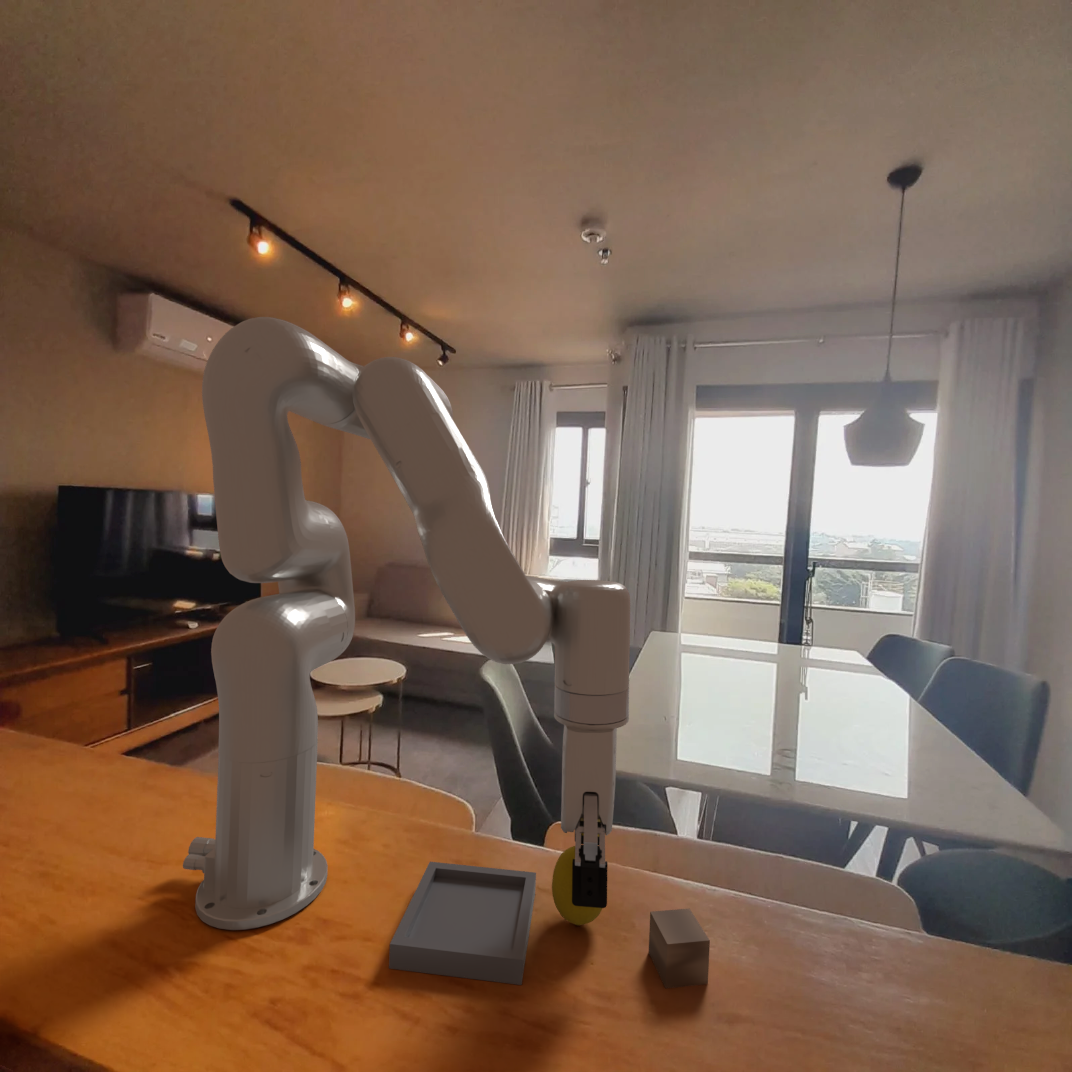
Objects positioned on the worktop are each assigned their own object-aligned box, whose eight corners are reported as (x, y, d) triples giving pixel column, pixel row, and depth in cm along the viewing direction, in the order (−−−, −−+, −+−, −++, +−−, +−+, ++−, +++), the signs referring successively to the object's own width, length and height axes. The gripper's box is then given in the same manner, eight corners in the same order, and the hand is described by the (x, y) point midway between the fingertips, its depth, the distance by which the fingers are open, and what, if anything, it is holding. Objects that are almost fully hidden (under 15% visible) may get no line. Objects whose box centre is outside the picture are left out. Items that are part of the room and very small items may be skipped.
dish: (388, 968, 47) (389, 943, 47) (429, 881, 59) (429, 861, 59) (521, 984, 46) (522, 960, 46) (535, 892, 58) (536, 872, 58)
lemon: (600, 905, 56) (603, 831, 56) (609, 945, 51) (612, 863, 51) (548, 904, 56) (551, 829, 56) (552, 945, 51) (555, 862, 51)
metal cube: (665, 989, 46) (667, 944, 46) (648, 953, 50) (650, 911, 50) (707, 984, 47) (709, 940, 47) (687, 949, 51) (689, 908, 51)
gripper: (559, 678, 62) (557, 822, 62) (548, 732, 45) (545, 932, 45) (623, 680, 62) (621, 827, 62) (636, 737, 44) (634, 939, 44)
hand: (589, 871), depth 53 cm, fingers open, 9 cm apart
